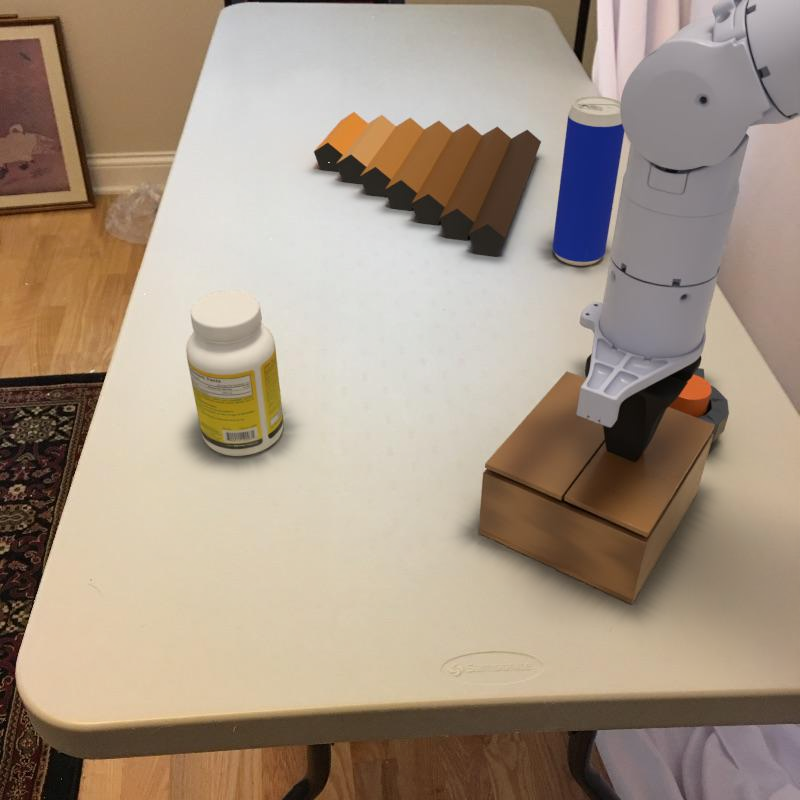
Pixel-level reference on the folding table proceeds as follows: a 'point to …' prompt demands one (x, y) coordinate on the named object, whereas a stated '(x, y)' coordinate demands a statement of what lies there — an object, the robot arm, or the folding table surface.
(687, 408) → the button
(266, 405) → the pill bottle
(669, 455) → the flap
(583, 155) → the beverage can
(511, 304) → the folding table surface
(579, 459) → the carton
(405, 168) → the pan flute
